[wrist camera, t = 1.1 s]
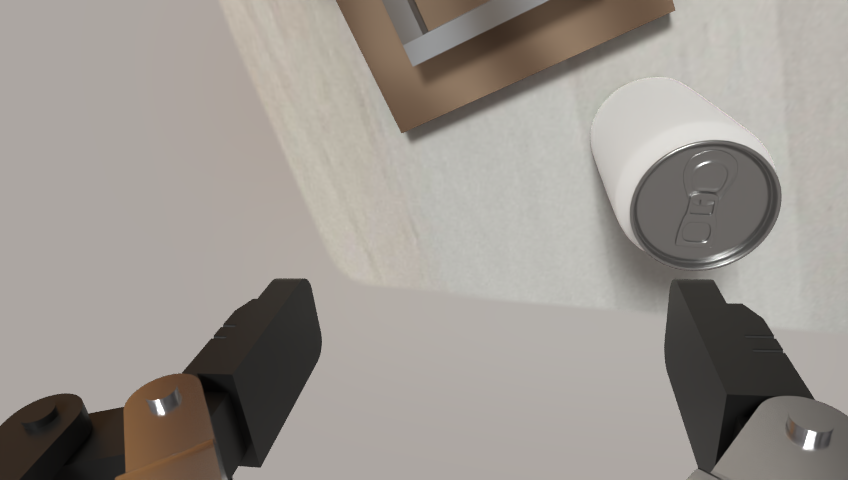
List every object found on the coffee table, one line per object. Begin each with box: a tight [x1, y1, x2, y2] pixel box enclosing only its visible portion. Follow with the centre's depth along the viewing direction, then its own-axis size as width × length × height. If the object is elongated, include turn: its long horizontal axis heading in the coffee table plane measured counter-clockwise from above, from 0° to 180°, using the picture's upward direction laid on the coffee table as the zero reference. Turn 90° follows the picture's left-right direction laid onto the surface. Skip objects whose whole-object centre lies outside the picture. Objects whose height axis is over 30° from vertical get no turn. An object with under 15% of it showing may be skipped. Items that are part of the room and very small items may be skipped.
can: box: [590, 77, 781, 271], centre depth 28 cm, size 6×6×12 cm
